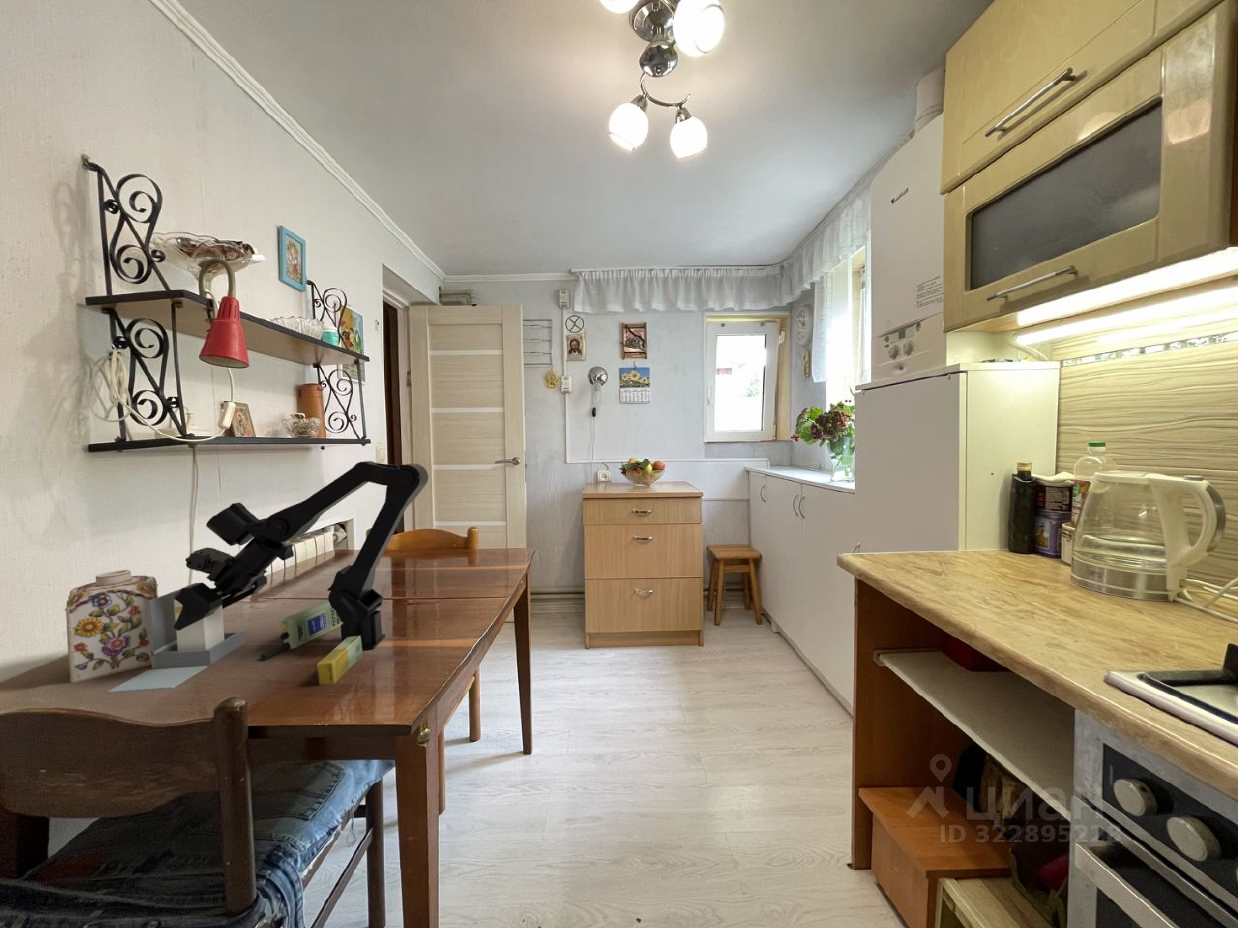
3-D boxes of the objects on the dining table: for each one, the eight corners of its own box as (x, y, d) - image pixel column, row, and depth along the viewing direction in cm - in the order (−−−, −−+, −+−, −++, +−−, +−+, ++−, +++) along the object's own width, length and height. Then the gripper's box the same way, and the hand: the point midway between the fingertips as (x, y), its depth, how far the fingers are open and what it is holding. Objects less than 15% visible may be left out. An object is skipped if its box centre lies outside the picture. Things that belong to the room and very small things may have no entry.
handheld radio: (362, 617, 117) (271, 664, 92) (350, 617, 117) (256, 664, 93) (359, 589, 117) (267, 629, 92) (347, 590, 117) (252, 629, 93)
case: (244, 645, 101) (240, 583, 101) (210, 666, 92) (205, 597, 91) (191, 648, 100) (186, 586, 100) (150, 670, 91) (145, 601, 90)
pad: (207, 668, 91) (206, 665, 91) (171, 690, 83) (171, 687, 83) (148, 673, 90) (148, 669, 90) (107, 695, 82) (107, 691, 82)
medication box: (349, 655, 95) (347, 635, 95) (364, 654, 95) (362, 634, 95) (318, 686, 83) (316, 663, 83) (334, 684, 83) (332, 661, 83)
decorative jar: (160, 664, 93) (153, 571, 92) (69, 686, 85) (60, 585, 85) (163, 646, 102) (156, 561, 101) (81, 664, 94) (73, 572, 94)
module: (225, 648, 99) (221, 587, 98) (206, 659, 94) (202, 595, 93) (198, 650, 98) (194, 589, 98) (177, 661, 93) (172, 597, 93)
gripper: (248, 526, 105) (195, 580, 104) (182, 543, 86) (117, 609, 85) (290, 560, 106) (237, 613, 105) (233, 584, 88) (170, 650, 87)
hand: (194, 620), depth 96 cm, fingers open, 9 cm apart
